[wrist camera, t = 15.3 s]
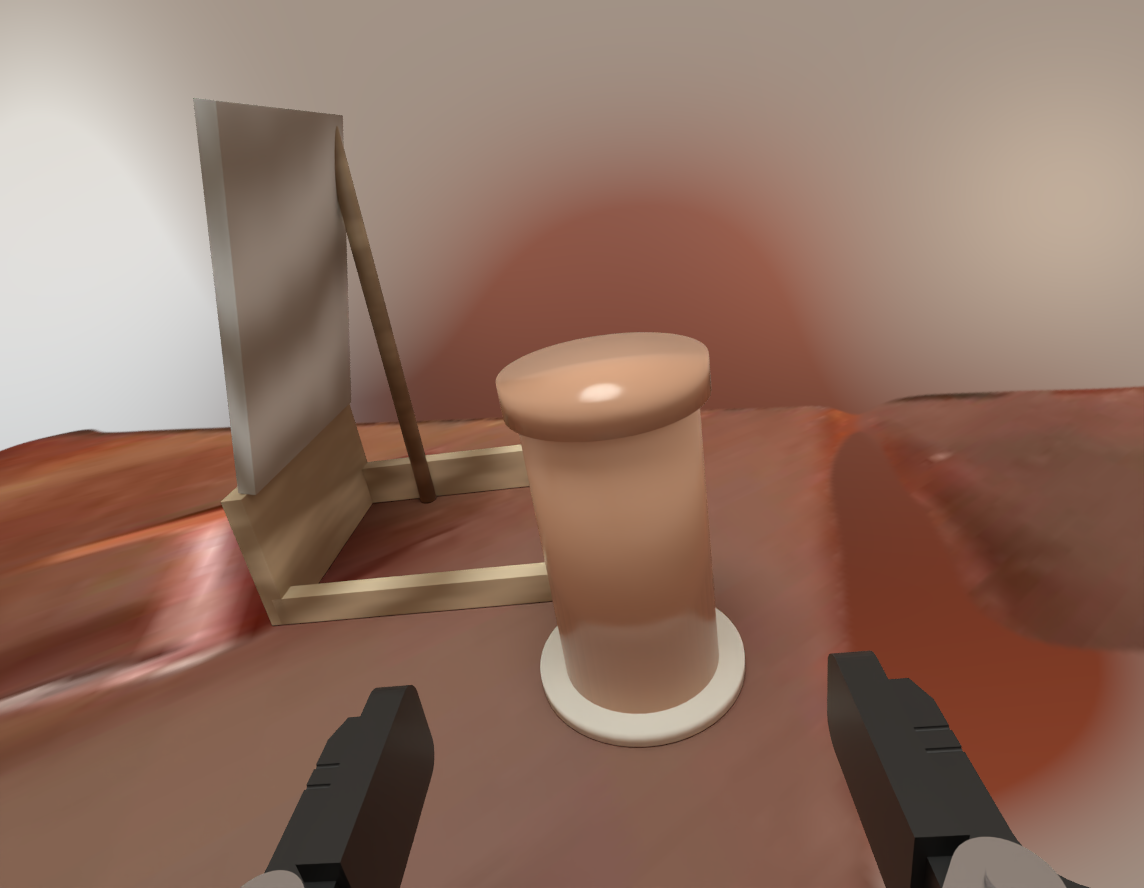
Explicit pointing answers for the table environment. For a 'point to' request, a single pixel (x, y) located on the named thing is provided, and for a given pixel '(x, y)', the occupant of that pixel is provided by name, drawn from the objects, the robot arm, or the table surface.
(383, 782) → the robot arm
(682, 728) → the saucer
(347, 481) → the cold frame
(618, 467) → the clay pot
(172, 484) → the table surface
